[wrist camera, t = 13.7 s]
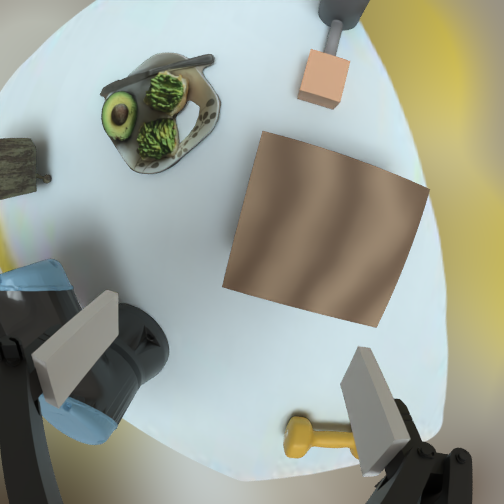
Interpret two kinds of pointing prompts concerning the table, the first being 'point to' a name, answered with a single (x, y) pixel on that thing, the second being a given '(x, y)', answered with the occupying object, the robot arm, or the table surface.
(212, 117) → the avocado toast plate
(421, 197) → the lane shelf
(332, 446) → the dumbbell
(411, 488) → the robot arm
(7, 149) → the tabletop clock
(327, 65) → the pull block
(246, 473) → the table surface
